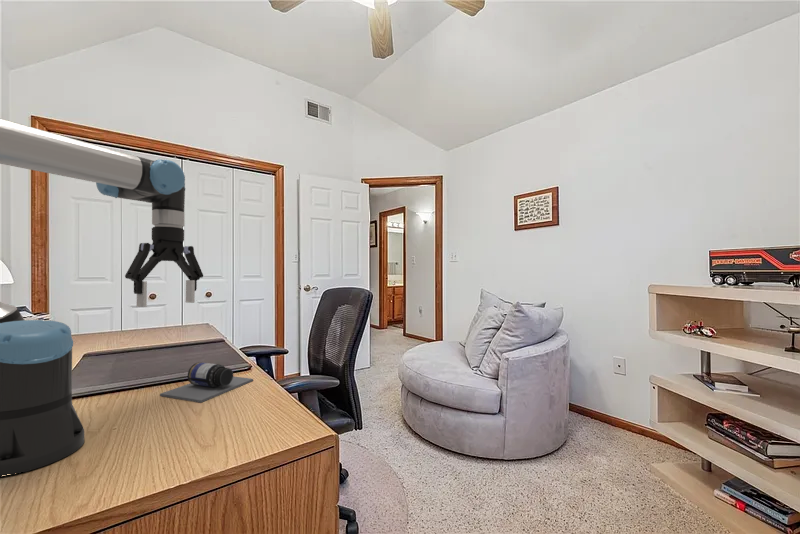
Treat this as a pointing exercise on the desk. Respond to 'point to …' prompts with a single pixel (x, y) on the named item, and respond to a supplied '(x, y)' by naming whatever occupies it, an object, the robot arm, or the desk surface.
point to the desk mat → (203, 390)
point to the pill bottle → (209, 375)
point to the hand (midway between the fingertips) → (167, 304)
